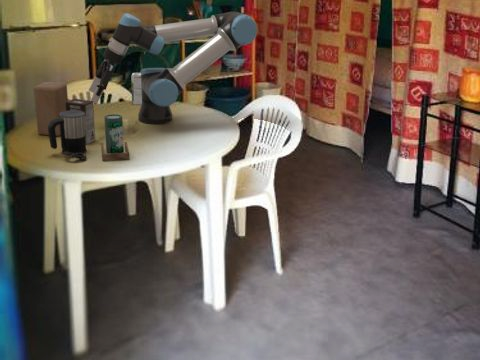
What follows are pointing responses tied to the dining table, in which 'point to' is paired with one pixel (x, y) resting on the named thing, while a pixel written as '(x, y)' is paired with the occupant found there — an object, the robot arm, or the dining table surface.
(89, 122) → the coffee box
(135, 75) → the syrup box
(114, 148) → the can
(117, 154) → the brown flat u-shaped piece
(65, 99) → the block
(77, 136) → the milk frother
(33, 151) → the dining table surface
